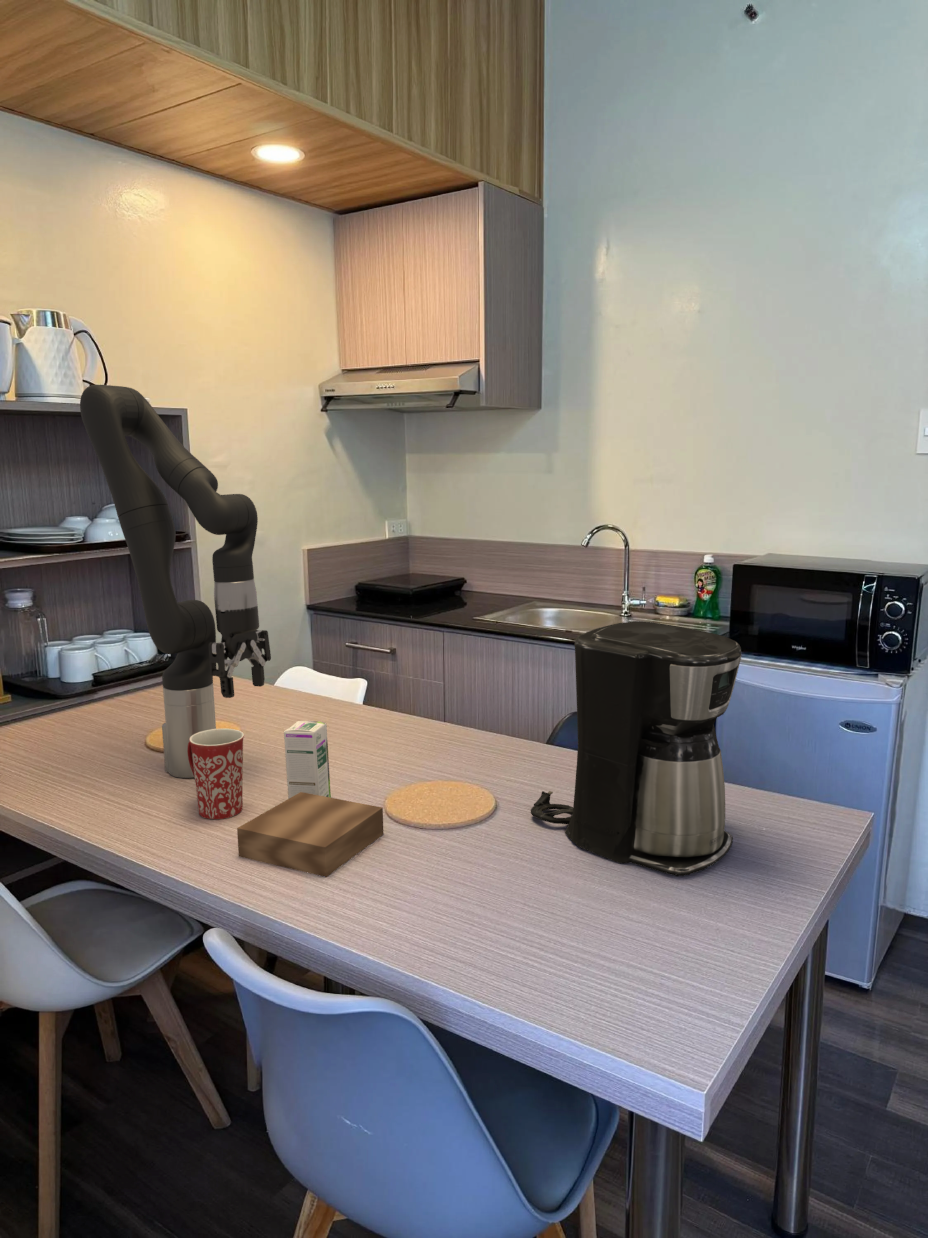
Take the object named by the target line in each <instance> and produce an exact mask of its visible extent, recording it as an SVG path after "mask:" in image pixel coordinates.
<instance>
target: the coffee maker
mask: <svg viewBox="0 0 928 1238" xmlns="http://www.w3.org/2000/svg"><path fill="white" fill-rule="evenodd" d="M741 659H742V647H741V646H740V644H739V643H738V642H737V641H736V640H734V639H731V638H729V637H727V636H724V635H720V634H717V633H712V632H709V631H704V630H700V629H699V630H698V629H693V628H689V627H682V626H678V625H672V624H667V623H666V624H665V623H660V622H654V621H647V620H646V621H644V620H641V621H640V620H635V621H626V622H617V623H613V624H609V625H604V626H602V627H597V628H594V629H592V630H589V631H587V632H584V633H582V634H580V635H578V636H577V637H576V638H575V642H574V661H575V663H574V664H575V687H576V688H575V689H576V691H575V693H576V715H577V716H576V717H577V718H576V719H577V720H576V722H577V752H576V753H577V755H576V766H575V767H576V768H575V769H576V770H575V782H574V796H573V797H574V798H573V806H571V805H568V804H561V803H551V802H550V801H551V795H553V793H554V792H553V791H548V792H546V791H543V790H542V791H541V793H540V794H541V795H540V796H539V798H538V799H537V800H536V802H535V803H533V806H532V807H531V808H530V814H531V816H533V818H535V819H538V820H541V821H543V822H547V823H551V824H558V825H559V824H560V825H567V826H566V829H565V830H564V834H565V835H566V836H567V838H568V839H569V840H570V841H571V842H572V843H573V844H575V846H577V847H578V848H581V849H583V850H585V851H588V852H590V853H593V854H595V855H597V856H600V857H603V858H604V859H608V860H609V861H612V862H615V863H618V864H622V865H623V864H630V863H631V864H633V865H636V866H641V867H643V868H646V869H651V870H654V871H656V872H660V873H662V874H663V873H664V874H667V875H671V876H675V877H684V876H689V875H692V874H696V873H698V872H701V871H703V870H706V869H707V868H709V867H711V866H714V864H716V863H717V862H719V861H720V860H721V859H722V858H723V857H724V856H725V855H727V853H728V852H729V850H730V849H731V848H732V845H733V841H734V837H733V836H732V834H731V833H730V832H729V831H726V830H725V828H726V827H725V824H726V787H725V786H726V785H725V775H724V764H723V757H722V750H721V748H720V746H719V741H718V737H717V732H716V728H715V723H716V720H717V719H718V718H719V717H721V716H723V715H724V714H725V712H726V711H727V709H728V707H729V704H730V702H731V700H732V699H731V698H732V695H733V691H734V688H735V684H736V681H737V676H738V673H739V672H738V671H739V667H740V664H741ZM548 810H551V812H545V811H548ZM552 810H554V811H552ZM562 814H571V816H567V817H555V816H558V815H562Z"/></svg>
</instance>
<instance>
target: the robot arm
mask: <svg viewBox="0 0 928 1238" xmlns="http://www.w3.org/2000/svg"><path fill="white" fill-rule="evenodd" d="M79 409H80V416H81V420H82V422H83V427H84V428H85V431H86V434H87V436H88V437H89V440H90V443H91V446H92V447H93V449H94V451H95V454H96V458H97V459H98V461H99V464H100V466H101V469H102V471H103V474H104V477H105V479H106V482H107V485H108V489H109V492H110V495H111V498H112V501H113V504H114V508H115V511H116V514H117V519H118V522H119V525H120V527H121V531H122V534H123V537H124V538H123V539H124V540H125V543H126V545H127V548H128V551H129V555H130V559H131V562H132V565H133V569H134V572H135V576H136V579H137V584H138V588H139V593H140V596H141V597H140V598H141V603H142V607H143V612H144V616H145V621H146V622H145V623H146V627H147V630H148V633H149V636H150V638H151V640H152V643H153V644H154V646H155V647H156V649H158V650H159V651H160V652H162V653H163V654H165V655H166V654H167V655H175V654H176V656H175V658H174V660H173V662H171V664H170V665H169V666H168V667H167V668H166V669H164V671H163V672H162V677H161V681H162V682H161V683H162V691H163V692H162V693H163V706H164V718H165V722H164V723H163V724H162V725H161V730H162V731H161V732H162V745H163V758H164V771H165V772H166V773H167V772H168V773H169V774H170V775H171V776H172V777H176V778H181V779H182V778H184V779H185V778H186V779H188V778H189V779H191V778H195V777H194V775H193V772H192V770H191V767H190V764H189V759H188V752H187V749H188V743H189V739H190V737H191V736H192V735H194V734H196V733H198V732H202V731H206V730H211V729H217V724H216V723H217V722H216V710H215V709H216V706H215V693H214V677H217V678H219V685H220V693H221V695H222V697H223V698H225V699H232V698H234V697H235V686H234V677H232V676H233V674H234V670H235V669H236V668H237V667H238V665H239V663H240V662H242V661H244V660H245V659H247V661H248V662H249V663H250V665H251V679H252V685H253V686H254V687H263V686H264V685H265V669H264V668H265V666H266V662H269V661H271V659H272V653H271V648H270V647H271V646H270V637H269V631H268V630H265V629H264V630H263V629H259V628H260V618H259V608H258V605H259V604H258V594H257V588H256V583H255V575H254V565H253V564H254V563H253V554H254V553H253V552H254V549H255V543H256V537H257V531H258V530H257V529H258V522H259V521H258V512H257V508H256V505H255V504H254V502H253V500H252V499H251V498H250V497H249V496H247V495H245V494H242V493H229V494H221V493H218V492H217V491H218V488H219V482H218V479H217V477H216V476H215V474H214V473H212V471H211V470H209V468H208V467H207V466H205V464H203V463H202V462H201V461H200V460H199V459H198V458H196V456H194V455H193V454H192V453H191V452H190V451H189V450H188V449H187V447H185V446H184V445H183V443H181V442H180V440H179V439H178V438H177V437H176V436H175V435H174V433H173V432H172V431H171V430H170V428H169V427H168V426H167V424H166V423H165V422H164V421H163V419H162V418H161V417H160V416H159V414H158V413H157V411H156V410H155V409H154V407H153V406H152V405H151V404H150V402H149V401H148V399H146V397H144V395H142V393H140V391H139V390H136V389H135V388H132V387H129V386H123V385H122V386H119V385H111V384H110V385H108V384H91V385H88V386H87V387H86V388H85V389H83V391H82V393H81V395H80V399H79ZM126 437H130V438H132V439H134V440H136V441H138V442H139V443H141V444H142V445H143V446H144V447H145V448H147V450H148V451H149V452H150V454H151V455H152V458H153V462H154V464H155V468H156V470H157V472H158V474H159V476H160V477H161V479H162V480H163V481H164V482H165V483H166V484H167V485H168V486H169V487H170V488H171V489H172V490H173V491H174V492H176V493H177V495H178V496H180V497H181V498H182V499H183V500H184V501H185V503H186V505H187V506H188V508H189V510H190V511H191V513H192V515H193V517H194V518H195V520H196V521H197V523H198V524H199V526H201V527H202V528H203V529H204V530H205V531H207V532H208V533H210V534H212V535H215V536H225V539H224V543H223V545H222V546H221V547H220V548H218V549H216V550H214V552H213V553H212V556H211V557H212V559H211V561H212V573H213V583H214V584H213V585H214V587H213V597H214V598H213V600H214V609H215V617H214V614H213V612H212V610H211V609H210V607H209V606H208V605H207V604H206V603H205V602H203V601H202V600H198V599H189V600H183V601H179V602H178V600H177V598H176V595H175V592H174V587H173V584H172V578H171V566H172V565H171V564H172V560H173V556H174V549H175V544H176V533H177V532H176V527H175V523H174V520H173V516H172V514H171V513H172V512H171V510H170V507H169V503H168V501H167V499H166V496H165V494H164V493H163V492H162V490H161V489H160V486H158V485H157V483H156V482H155V481H154V480H153V479H152V477H151V476H150V475H149V474H148V473H147V472H146V471H145V470H144V469H143V467H141V465H140V464H139V463H138V461H137V460H136V458H135V457H134V455H133V453H132V451H131V448H130V447H129V444H128V441H127V438H126ZM215 621H216V623H215ZM216 631H217V632H219V633H220V635H221V639H220V642H219V641H218V642H217V632H216ZM263 651H264V653H263Z"/></svg>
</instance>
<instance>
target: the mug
mask: <svg viewBox="0 0 928 1238" xmlns="http://www.w3.org/2000/svg"><path fill="white" fill-rule="evenodd" d="M244 738H245V733H244V732H243V731H241V730H238V729H234V728H216V729H211V730H206V731H202V732H198V733H196V734H194V735H192V736H191V737H190V739H189V743H188V749H187V752H188V759H189V764H190V767H191V770H192V772H193V775H194V777H193V778H194V783H195V788H196V789H195V791H196V799H197V811H198V813H199V816H201V817H202V818H205V819H207V820H222V819H228V818H232V817H235V816H237V815H239V814H240V813H241V812H242V811H243V804H244V802H243V799H244V797H243V796H244V795H243V784H244V783H243V782H244V780H243V779H244V777H243V774H244V773H243V772H244V769H243V768H244Z"/></svg>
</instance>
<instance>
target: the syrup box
mask: <svg viewBox="0 0 928 1238" xmlns="http://www.w3.org/2000/svg"><path fill="white" fill-rule="evenodd" d="M327 726H328V725H327V723H326V722H324V721H318V720H317V721H316V720H299V721H298V720H297V721H296V722H295V723H294V724H292V725H291V726H290V727H288V728H286V729H285V730H284V731H283V740H284V752H285V753H284V755H285V756H284V757H285V770H286V783H287V784H286V785H287V786H286V787H287V797H288V798H287V799H289V798H291V797H293V796H295V795H296V794H298V793H300V792H304V793H309V794H314V795H319V796H325V797H330V798H332V797H331V796H332V795H331V794H332V793H331V780H330V778H331V777H330V776H331V775H330V763H329V762H330V760H329V745H328V729H327V728H328V727H327Z"/></svg>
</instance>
